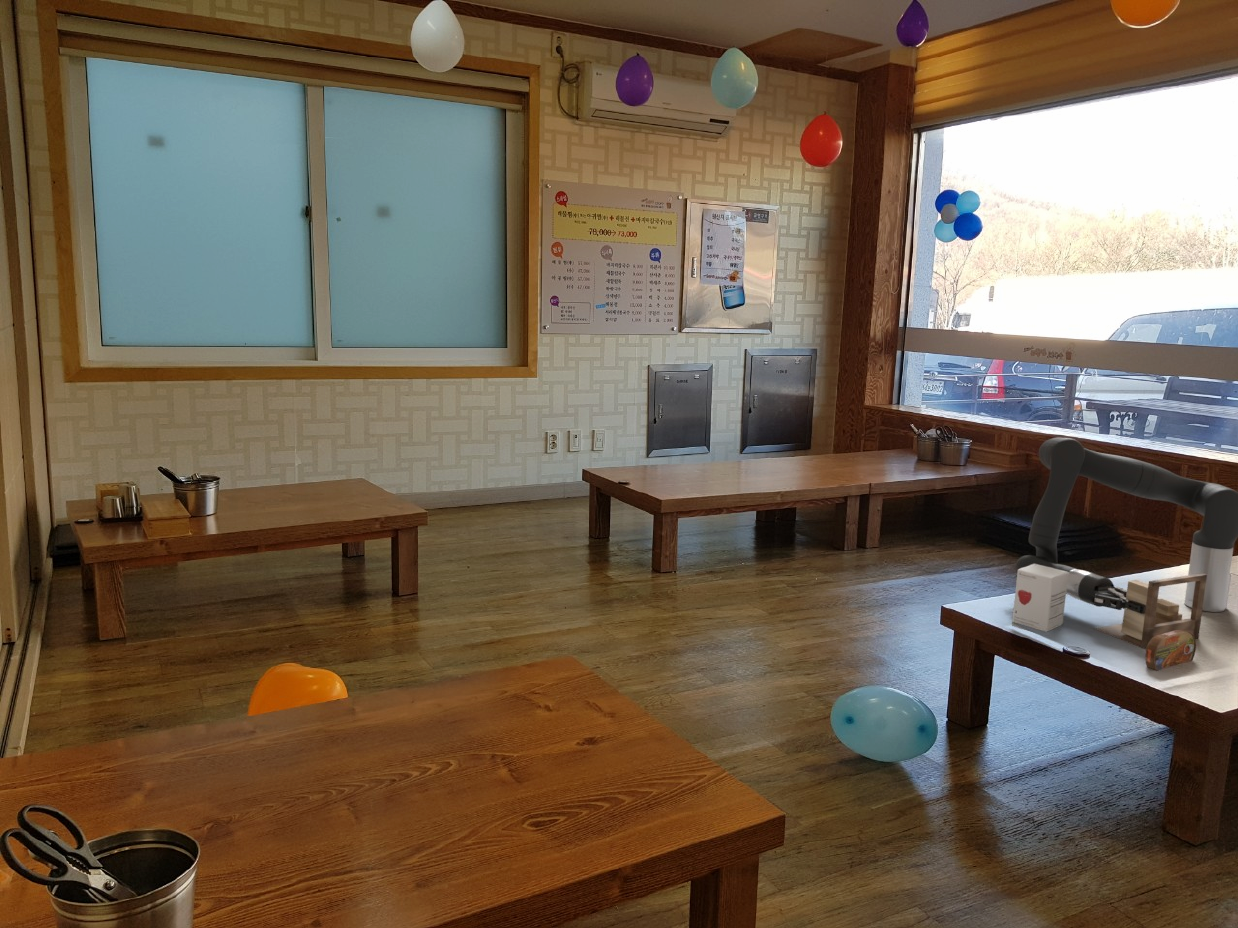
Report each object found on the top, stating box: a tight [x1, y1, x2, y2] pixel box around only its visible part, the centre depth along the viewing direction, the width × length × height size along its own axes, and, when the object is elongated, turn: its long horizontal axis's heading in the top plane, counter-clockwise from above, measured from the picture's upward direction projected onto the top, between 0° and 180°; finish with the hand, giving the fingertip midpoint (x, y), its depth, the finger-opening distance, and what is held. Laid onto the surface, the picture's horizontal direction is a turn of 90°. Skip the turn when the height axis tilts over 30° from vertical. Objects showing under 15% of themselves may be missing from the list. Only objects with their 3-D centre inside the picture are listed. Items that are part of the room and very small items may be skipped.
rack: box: [1093, 573, 1207, 650], centre depth 218 cm, size 18×14×17 cm
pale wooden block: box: [1121, 579, 1149, 641], centre depth 215 cm, size 3×6×13 cm, turn 22°
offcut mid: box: [1155, 612, 1183, 623], centre depth 221 cm, size 4×6×2 cm
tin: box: [1145, 630, 1197, 672], centre depth 201 cm, size 15×3×8 cm, turn 118°
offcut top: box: [1156, 598, 1180, 616], centre depth 220 cm, size 4×5×2 cm
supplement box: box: [1011, 564, 1069, 633], centre depth 225 cm, size 9×9×15 cm
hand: (1150, 608), depth 212 cm, fingers closed on pale wooden block, 3 cm apart
